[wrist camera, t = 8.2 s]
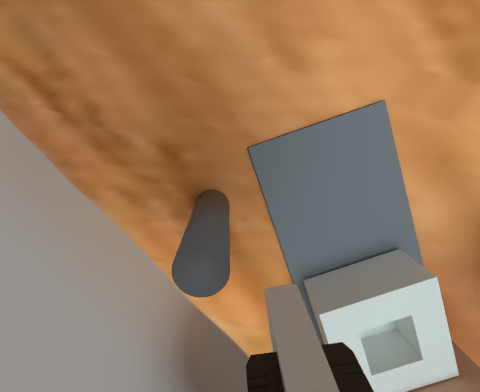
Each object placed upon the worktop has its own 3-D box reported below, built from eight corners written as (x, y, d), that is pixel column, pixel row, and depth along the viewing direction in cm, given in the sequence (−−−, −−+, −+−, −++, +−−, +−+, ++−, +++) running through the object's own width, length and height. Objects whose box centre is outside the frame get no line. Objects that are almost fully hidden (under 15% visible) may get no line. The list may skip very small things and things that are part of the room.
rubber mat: (247, 147, 31) (248, 148, 30) (382, 100, 30) (384, 100, 30) (324, 374, 37) (325, 377, 36) (438, 338, 36) (440, 341, 36)
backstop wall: (319, 360, 36) (352, 448, 27) (434, 323, 36) (512, 400, 26) (324, 374, 37) (358, 467, 27) (438, 338, 36) (515, 419, 26)
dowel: (191, 196, 32) (162, 254, 18) (222, 185, 32) (218, 236, 18) (202, 226, 32) (184, 304, 19) (233, 216, 32) (237, 286, 19)
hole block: (303, 280, 33) (319, 314, 27) (399, 248, 33) (437, 276, 27) (329, 361, 35) (349, 409, 30) (420, 332, 35) (458, 375, 29)
